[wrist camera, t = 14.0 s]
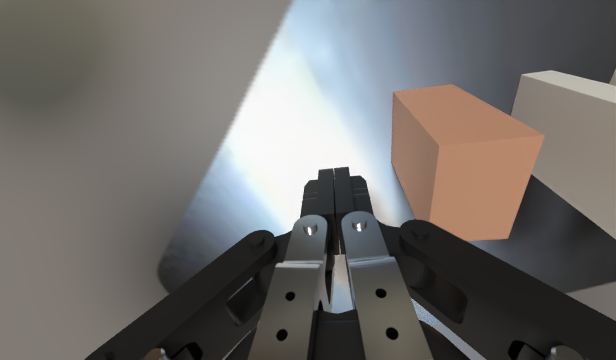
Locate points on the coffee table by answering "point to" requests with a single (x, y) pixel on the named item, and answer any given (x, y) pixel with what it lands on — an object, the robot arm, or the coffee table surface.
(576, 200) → the domino
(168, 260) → the coffee table surface
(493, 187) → the domino
